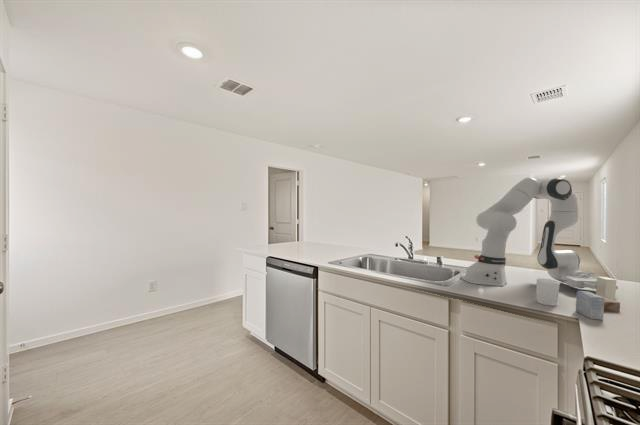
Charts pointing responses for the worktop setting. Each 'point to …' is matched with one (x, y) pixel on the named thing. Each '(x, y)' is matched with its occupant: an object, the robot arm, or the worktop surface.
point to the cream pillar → (606, 287)
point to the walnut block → (611, 305)
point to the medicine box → (590, 305)
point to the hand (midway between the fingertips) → (605, 287)
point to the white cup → (547, 291)
